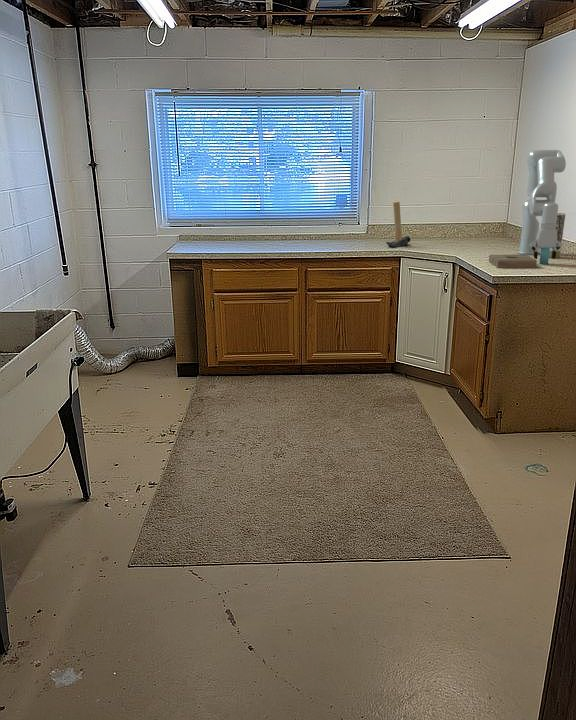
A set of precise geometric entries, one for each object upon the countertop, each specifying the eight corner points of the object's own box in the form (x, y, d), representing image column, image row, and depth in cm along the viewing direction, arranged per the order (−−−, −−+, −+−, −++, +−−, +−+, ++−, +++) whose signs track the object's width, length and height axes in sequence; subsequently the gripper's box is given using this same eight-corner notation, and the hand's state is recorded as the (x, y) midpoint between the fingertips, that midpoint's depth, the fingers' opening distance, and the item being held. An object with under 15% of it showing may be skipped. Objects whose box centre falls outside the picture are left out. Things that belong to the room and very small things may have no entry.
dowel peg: (538, 263, 330) (540, 246, 327) (546, 263, 330) (548, 246, 327) (540, 264, 326) (542, 247, 323) (549, 264, 326) (551, 247, 323)
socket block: (488, 261, 337) (489, 254, 336) (525, 261, 335) (525, 254, 334) (497, 267, 318) (498, 260, 317) (535, 267, 316) (536, 260, 315)
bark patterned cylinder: (560, 258, 343) (566, 214, 335) (548, 258, 344) (554, 214, 336) (558, 256, 349) (563, 213, 341) (545, 256, 350) (551, 213, 342)
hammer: (392, 251, 393) (389, 205, 380) (386, 250, 397) (383, 205, 383) (410, 242, 405) (408, 198, 392) (404, 241, 408) (402, 197, 395)
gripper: (562, 225, 324) (558, 257, 330) (529, 226, 326) (526, 257, 331) (567, 227, 317) (562, 259, 323) (533, 227, 319) (530, 259, 324)
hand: (544, 258), depth 327 cm, fingers open, 8 cm apart
